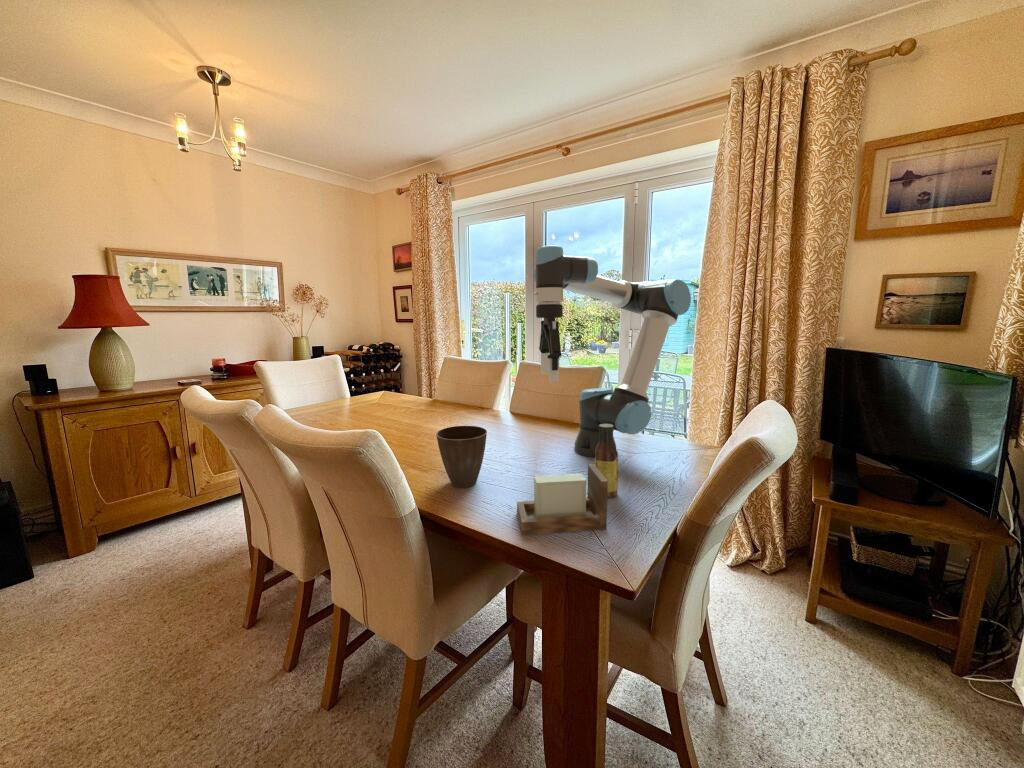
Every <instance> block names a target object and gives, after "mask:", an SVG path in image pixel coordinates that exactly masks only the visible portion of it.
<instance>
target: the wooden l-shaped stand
mask: <svg viewBox="0 0 1024 768" xmlns="http://www.w3.org/2000/svg"><path fill="white" fill-rule="evenodd" d="M607 490H608V481H607V480H606V479H605V477H604V476H603V475H602V474H601V472H600V471H599V470H598V469H597V468H596V466H595V463H588V464H587V487H586V515H579V516H564V517H548V518H535V515H534V500H526V501H525V500H522V501H517V502H516V513H517V517H518V519H517V520H518V522H519V526H520V530H521V531H520V532H521V534H522V536H528V535H529V536H530V535H541V534H555V533H556V534H557V533H572V532H584V531H585V532H589V531H600V530H601V531H602V530H607V525H608V524H607V523H608V520H607V518H608V498H607Z"/></svg>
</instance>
